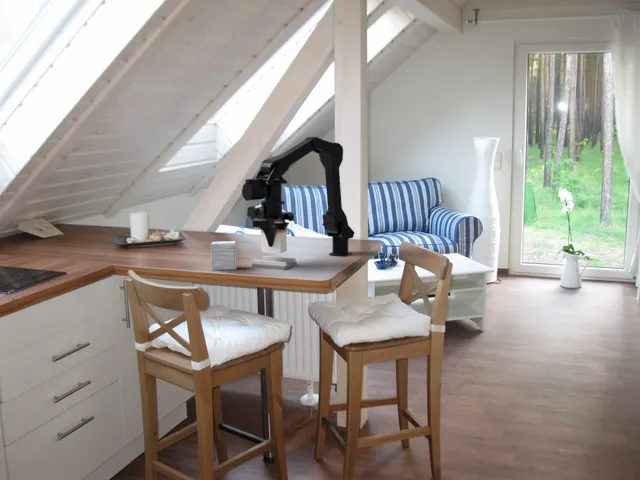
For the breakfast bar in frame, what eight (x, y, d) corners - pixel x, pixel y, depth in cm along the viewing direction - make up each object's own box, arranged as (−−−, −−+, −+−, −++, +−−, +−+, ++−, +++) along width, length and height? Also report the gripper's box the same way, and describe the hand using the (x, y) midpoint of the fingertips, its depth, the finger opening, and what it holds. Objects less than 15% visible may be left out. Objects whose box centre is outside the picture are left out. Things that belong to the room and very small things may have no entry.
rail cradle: (264, 261, 231) (264, 255, 231) (296, 264, 226) (296, 257, 226) (251, 266, 223) (251, 260, 223) (284, 269, 218) (284, 263, 218)
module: (268, 249, 227) (267, 228, 226) (286, 251, 225) (286, 230, 223) (261, 251, 223) (261, 230, 222) (280, 253, 221) (280, 232, 219)
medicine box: (237, 267, 223) (236, 241, 222) (236, 270, 219) (235, 243, 217) (213, 267, 223) (212, 241, 221) (211, 270, 219) (210, 243, 217)
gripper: (264, 194, 233) (266, 239, 235) (236, 200, 216) (238, 248, 218) (294, 195, 228) (295, 241, 231) (268, 201, 211) (269, 251, 214)
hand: (274, 245), depth 224 cm, fingers closed on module, 4 cm apart
